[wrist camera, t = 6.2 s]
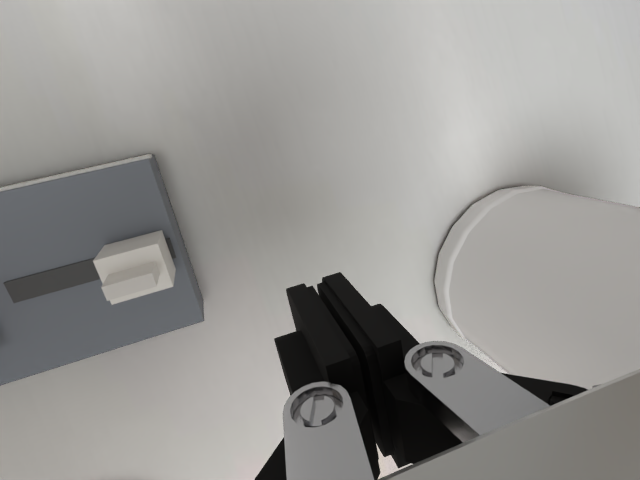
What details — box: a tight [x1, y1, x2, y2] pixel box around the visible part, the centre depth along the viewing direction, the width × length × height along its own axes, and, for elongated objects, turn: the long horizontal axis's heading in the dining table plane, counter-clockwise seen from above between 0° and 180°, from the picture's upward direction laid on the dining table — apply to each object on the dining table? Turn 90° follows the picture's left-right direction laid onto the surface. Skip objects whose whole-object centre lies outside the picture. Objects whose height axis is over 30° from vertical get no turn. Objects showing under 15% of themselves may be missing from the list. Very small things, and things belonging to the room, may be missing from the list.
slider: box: [93, 230, 176, 305], centre depth 20 cm, size 3×2×4 cm
